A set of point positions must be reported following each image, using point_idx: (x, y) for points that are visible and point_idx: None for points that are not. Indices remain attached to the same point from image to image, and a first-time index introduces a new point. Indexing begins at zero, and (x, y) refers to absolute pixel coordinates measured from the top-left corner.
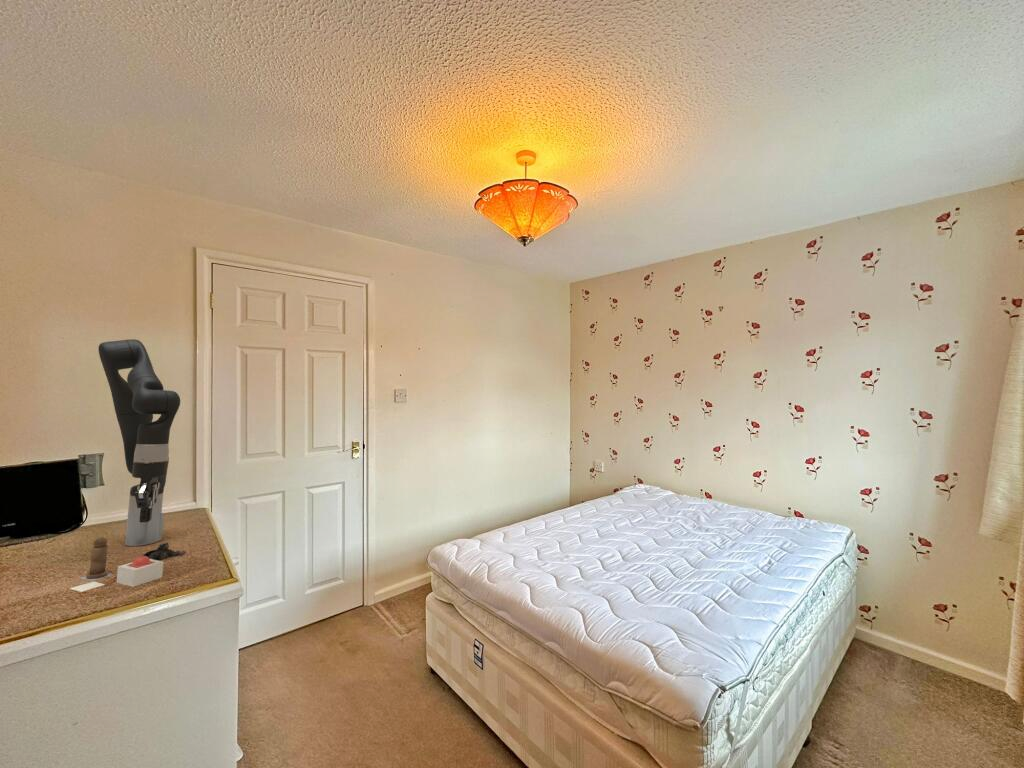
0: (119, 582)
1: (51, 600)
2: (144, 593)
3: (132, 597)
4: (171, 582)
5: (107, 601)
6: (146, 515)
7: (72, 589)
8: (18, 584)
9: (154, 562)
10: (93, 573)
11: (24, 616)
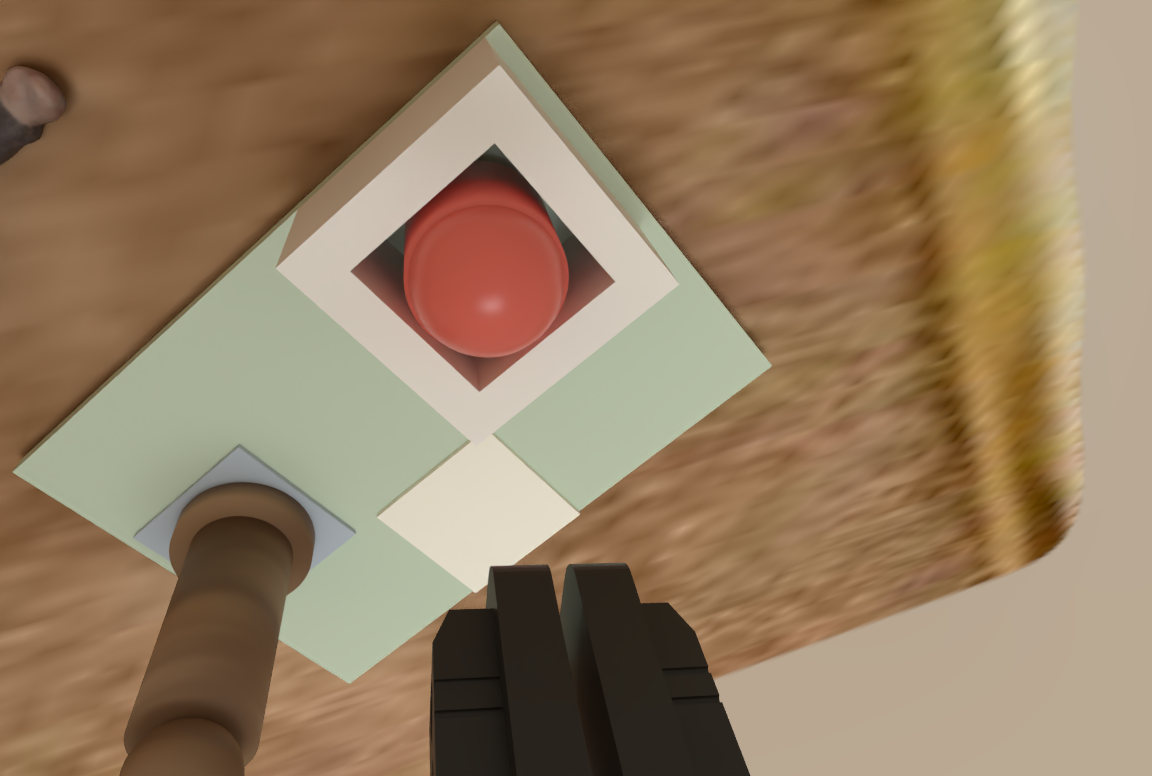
0: None
1: None
2: (751, 117)
3: (793, 185)
4: None
5: (778, 322)
6: (711, 705)
7: None
8: None
9: (472, 160)
10: (291, 568)
11: (771, 618)
